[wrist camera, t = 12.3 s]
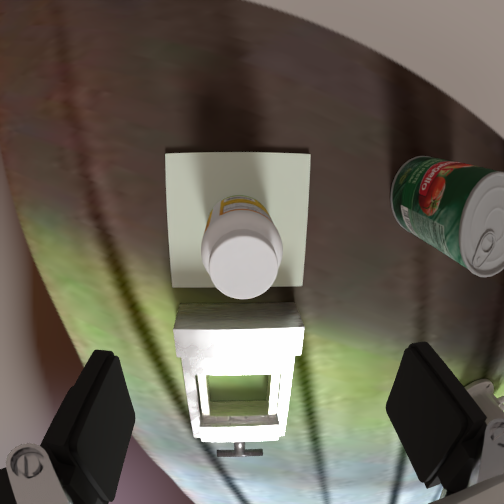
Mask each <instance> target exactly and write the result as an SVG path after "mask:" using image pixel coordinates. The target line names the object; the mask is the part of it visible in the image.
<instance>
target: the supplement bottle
mask: <svg viewBox="0 0 504 504" xmlns="http://www.w3.org/2000/svg"><path fill="white" fill-rule="evenodd" d="M282 255H283V245H282V240H281V237H280V235H279V232H278V230H277V228H276V227H275V225H274V223H273V221H272V219H271V217H270V215H269V213H268V212H267V210H266V208H265V207H264V206H263V205H262V204H261V203H260V202H259V201H258V200H256V199H254V198H252V197H250V196H246V195H232V196H228V197H226V198H224V199H222V200H221V201H219V202H218V203H217V204H216V205H215V206H214V207H213V209H212V210H211V212H210V214H209V217H208V220H207V224H206V228H205V231H204V235H203V239H202V243H201V257H202V262H203V265H204V267H205V269H206V271H207V272H208V274H209V275H210V277H211V280H212V282H213V284H214V285H215V286H216V288H217V289H218V290H219V291H221V292H222V293H223V294H225V295H227V296H229V297H232V298H236V299H250V298H254V297H256V296H259V295H261V294H262V293H264V292H265V291H267V290H268V289H269V288H270V287H271V285H272V284H273V282H274V281H275V279H276V276H277V272H278V268H279V266H280V263H281V260H282Z"/></svg>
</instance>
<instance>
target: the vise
mask: <svg viewBox="0 0 504 504" xmlns="http://www.w3.org/2000/svg"><path fill="white" fill-rule="evenodd" d="M173 332H174V339H175V347H176V354H177V357H181V359H182V366H183V373H184V380H185V387H186V393H187V400H188V406H189V412H190V418H191V423H192V429H193V434H194V438H201V441H202V442H234V450H217V457H240V456H263V450H262V449H245V442H246V441H267V440H278V436H283V435H284V433H285V427H286V420H287V412H288V405H289V398H290V390H291V382H292V374H293V366H294V357H295V355H301V351H302V343H303V335H304V325H303V322H302V320H301V317H300V314H299V312H298V309H297V307H296V304H295V302H279V303H223V304H181V303H180V305H179V309H178V313H177V317H176V320H175V324H174V328H173ZM256 374H268V384H267V399H266V400H255V401H210V392H209V381H208V375H256ZM196 375H198V383H199V392H200V400H201V409H200V402H199V394H198V386H197V378H196ZM279 376H280V377H279ZM277 397H278V398H277Z"/></svg>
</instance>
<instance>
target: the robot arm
mask: <svg viewBox="0 0 504 504" xmlns="http://www.w3.org/2000/svg"><path fill="white" fill-rule="evenodd" d="M493 391H494V386H493V384H492V383H491V381H490V380H488V379H480V380H477V381H474V382H472V383H470V384H469V385H467V386H465V387H464V386H463V385H462V384H461V383H460V381H459V380H458V379H457V378H456V376H455V375H454V374H453V373H452V371H451V370H450V369H449V368H448V366H447V365H446V364H445V363H444V362H443V360H442V359H441V358H440V357H439V355H438V354H437V353H436V352H435V351H434V349H433V348H432V347H431V346H430V345H429V344H428V343H427V342H418V343H412V344H410V345H409V347H408V348H407V349H406V350H405V351H404V354H403V357H402V360H401V363H400V366H399V370H398V372H397V375H396V378H395V381H394V384H393V387H392V390H391V392H390V395H389V398H388V400H387V403H386V412H387V414H388V416H389V418H390V420H391V422H392V424H393V426H394V428H395V430H396V432H397V435H398V437H399V439H400V441H401V443H402V445H403V447H404V449H405V451H406V453H407V455H408V457H409V459H410V461H411V464H412V466H413V468H414V470H415V472H416V474H417V476H418V479H419V480H420V481H421V482H424V483H425V486H426V488H427V489H428V488H430V487H433V486H436V485H438V484H440V483H441V484H442V486H443V490H442V493H441V496H440V499H439V500H437V501H434V502H431V503H429V504H504V412H503V411H504V404H503V403H504V396H501V397H499V398H496V397H495V396H494V395H493ZM134 424H135V412H134V409H133V406H132V402H131V399H130V396H129V392H128V389H127V386H126V382H125V378H124V375H123V371H122V367H121V364H120V360H119V357H118V356H114V353H113V352H112V351H105V350H94V352H93V353H92V355H91V356H90V358H89V360H88V362H87V363H86V365H85V367H84V369H83V371H82V372H81V374H80V376H79V378H78V379H77V381H76V383H75V385H74V386H72V387H71V388H70V390H69V391H68V393H67V395H66V396H65V398H64V400H63V402H62V404H61V406H60V408H59V409H58V411H57V413H56V415H55V417H54V419H53V421H52V423H51V425H50V427H49V429H48V431H47V433H46V435H45V437H44V439H43V441H42V443H41V445H40V446H38V445H36V444H31V443H27V444H21V445H19V446H17V447H15V448H14V449H13V450H11V452H10V453H9V455H8V457H7V460H6V468H3V469H0V504H108V503H109V501H110V502H112V501H113V500H114V498H115V494H116V490H117V486H118V482H119V478H120V474H121V471H122V467H123V463H124V459H125V456H126V452H127V448H128V445H129V441H130V438H131V434H132V431H133V427H134Z"/></svg>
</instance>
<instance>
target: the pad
mask: <svg viewBox="0 0 504 504" xmlns="http://www.w3.org/2000/svg"><path fill="white" fill-rule="evenodd" d="M310 155H311V154H297V153H269V152H196V153H168V154H165V165H166V198H167V219H168V236H169V251H170V264H171V276H172V287H216V286H215V285H214V284H213V282H212V280H211V277H210V275H209V274H208V272H207V271H206V269H205V267H204V265H203V262H202V257H201V243H202V239H203V235H204V231H205V228H206V224H207V220H208V217H209V214H210V212H211V210H212V209H213V207H214V206H215V205H216V204H217V203H218V202H219V201H221V200H222V199H224V198H226V197H228V196H232V195H246V196H250V197H252V198H254V199H256V200H258V201H259V202H260V203H261V204H262V205H263V206H264V207H265V208H266V210H267V212H268V213H269V215H270V217H271V219H272V221H273V223H274V225H275V227H276V228H277V230H278V232H279V235H280V237H281V240H282V245H283V255H282V260H281V263H280V266H279V268H278V272H277V276H276V279H275V281H274V282H273V284H272V285H271V287H282V286H302V283H303V271H304V259H305V245H306V231H307V215H308V198H309V179H310Z"/></svg>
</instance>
